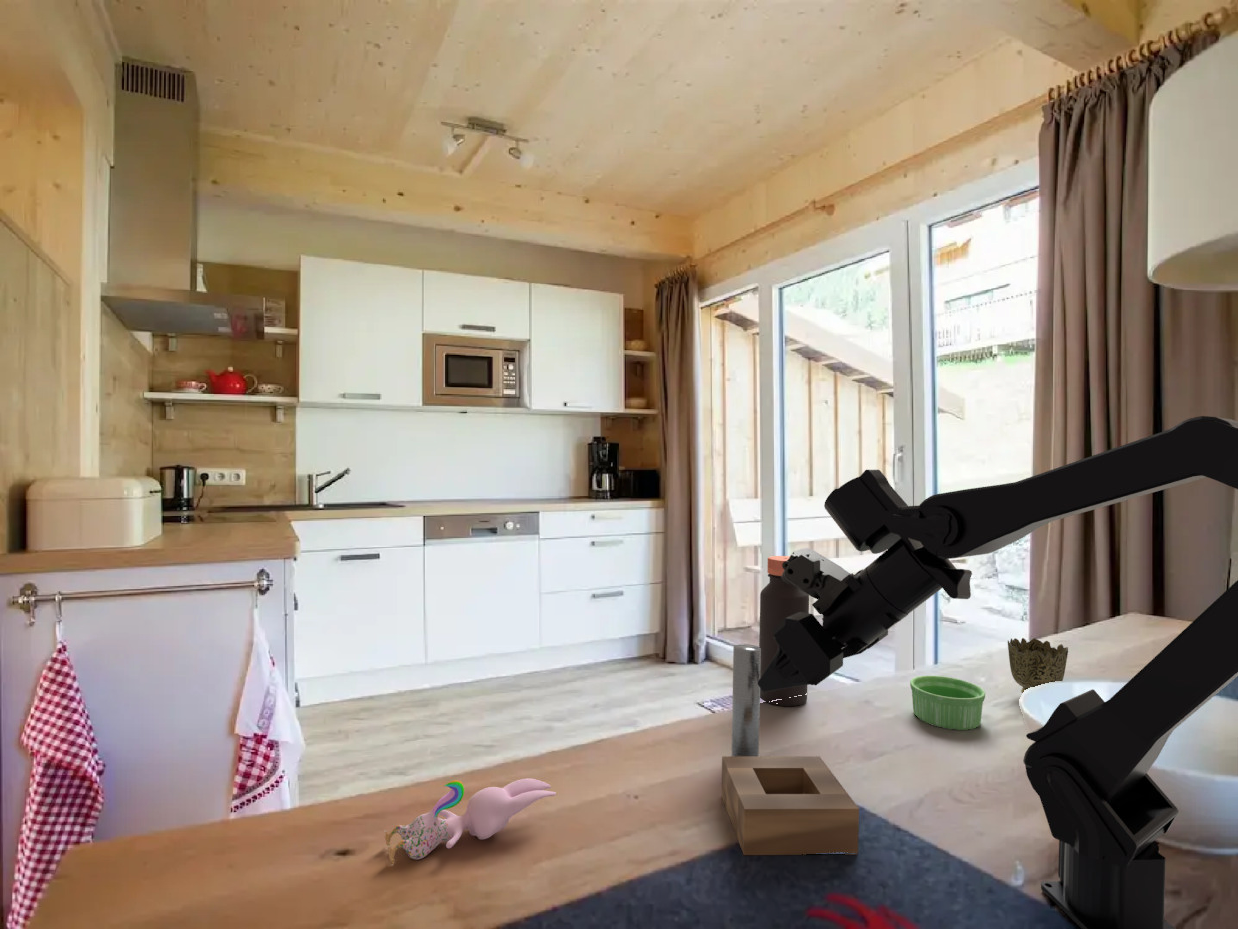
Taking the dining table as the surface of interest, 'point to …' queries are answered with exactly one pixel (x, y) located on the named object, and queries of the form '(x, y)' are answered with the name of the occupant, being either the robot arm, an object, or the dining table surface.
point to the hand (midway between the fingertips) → (779, 676)
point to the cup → (1036, 662)
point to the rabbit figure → (466, 816)
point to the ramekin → (947, 702)
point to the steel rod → (746, 700)
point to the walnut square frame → (788, 806)
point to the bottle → (774, 608)
